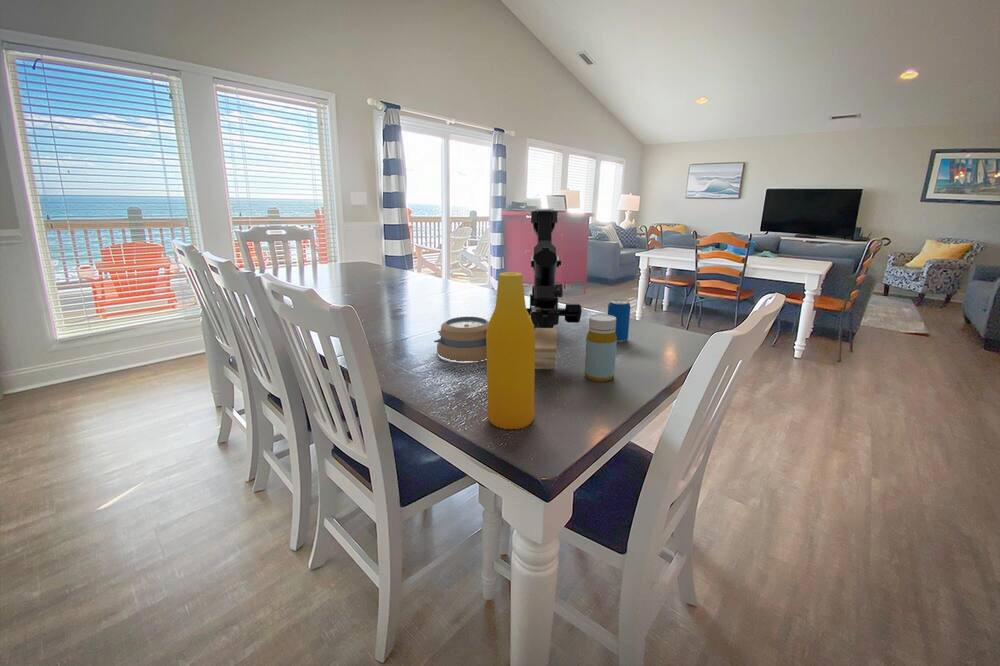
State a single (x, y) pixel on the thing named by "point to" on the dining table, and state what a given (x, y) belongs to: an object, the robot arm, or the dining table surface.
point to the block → (545, 347)
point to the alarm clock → (463, 339)
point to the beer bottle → (510, 356)
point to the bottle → (601, 348)
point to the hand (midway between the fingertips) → (544, 341)
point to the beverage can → (620, 317)
